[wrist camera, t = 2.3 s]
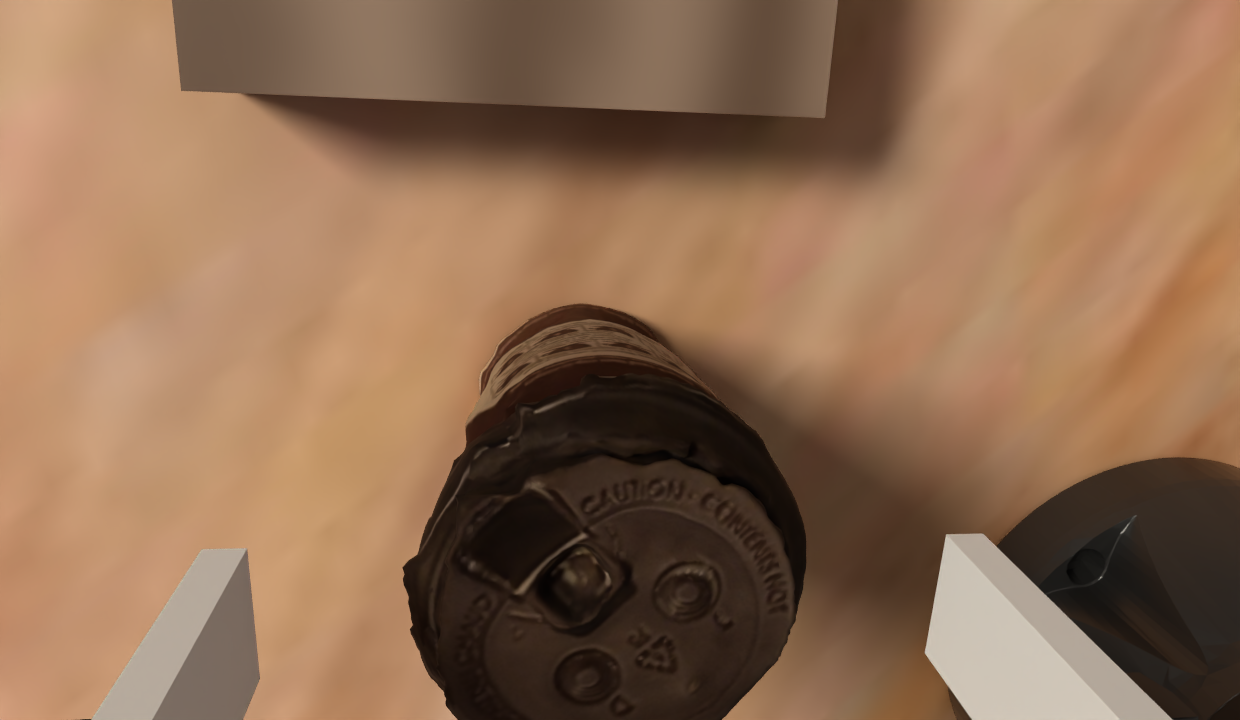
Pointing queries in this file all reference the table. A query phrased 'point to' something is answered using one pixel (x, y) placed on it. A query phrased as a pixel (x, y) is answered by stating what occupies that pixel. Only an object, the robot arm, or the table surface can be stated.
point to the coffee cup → (603, 537)
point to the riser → (518, 52)
